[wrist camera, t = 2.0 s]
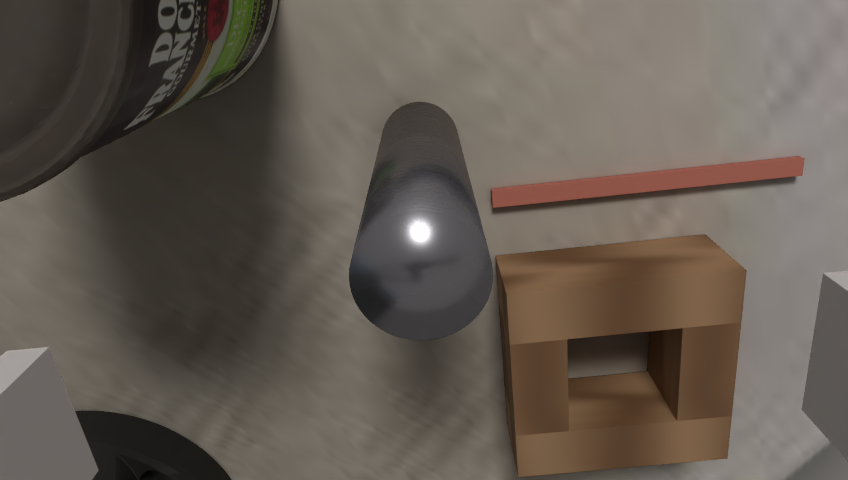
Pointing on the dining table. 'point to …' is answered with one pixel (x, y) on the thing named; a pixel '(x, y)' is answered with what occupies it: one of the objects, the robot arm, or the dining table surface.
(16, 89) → the coffee can
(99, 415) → the robot arm
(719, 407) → the wooden square frame
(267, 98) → the dining table surface
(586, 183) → the thin red bar
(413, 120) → the steel round rod
